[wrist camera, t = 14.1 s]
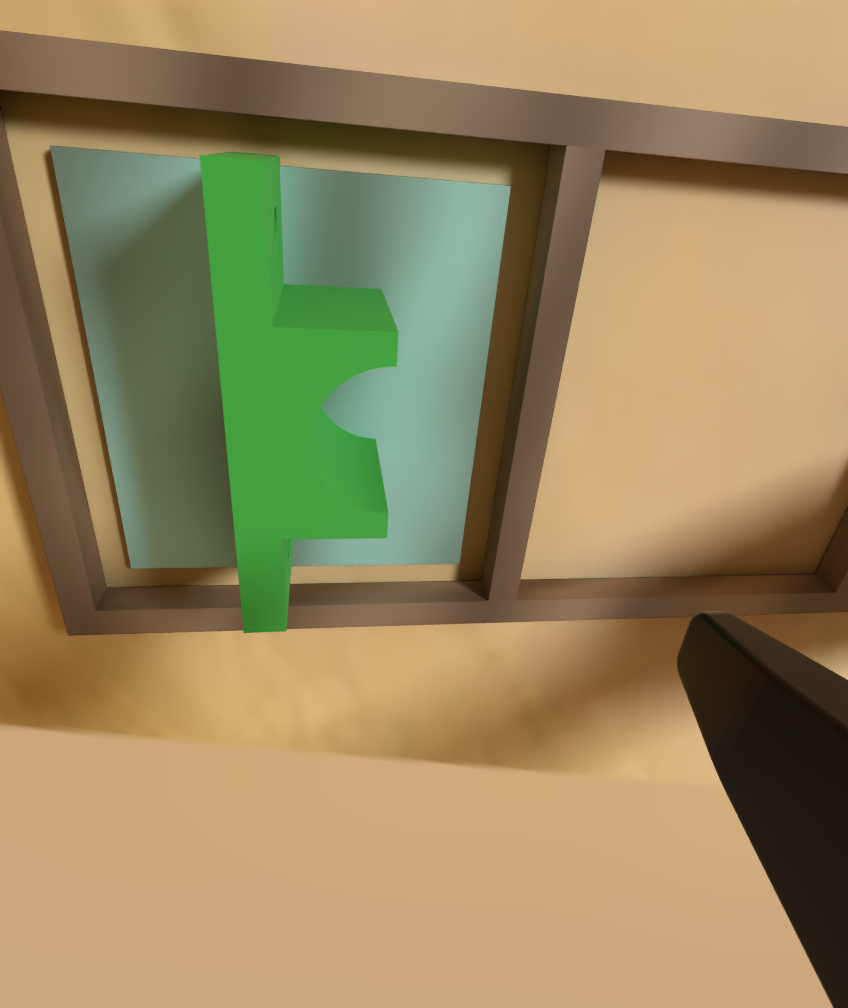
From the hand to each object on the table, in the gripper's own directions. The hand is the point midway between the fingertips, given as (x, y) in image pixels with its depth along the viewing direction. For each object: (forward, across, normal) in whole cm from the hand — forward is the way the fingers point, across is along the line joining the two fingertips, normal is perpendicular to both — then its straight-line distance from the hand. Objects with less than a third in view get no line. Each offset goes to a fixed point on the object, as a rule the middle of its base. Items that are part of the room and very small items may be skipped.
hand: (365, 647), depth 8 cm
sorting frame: (+12, -6, +1) cm, 13 cm away
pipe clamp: (+12, +1, 0) cm, 12 cm away
